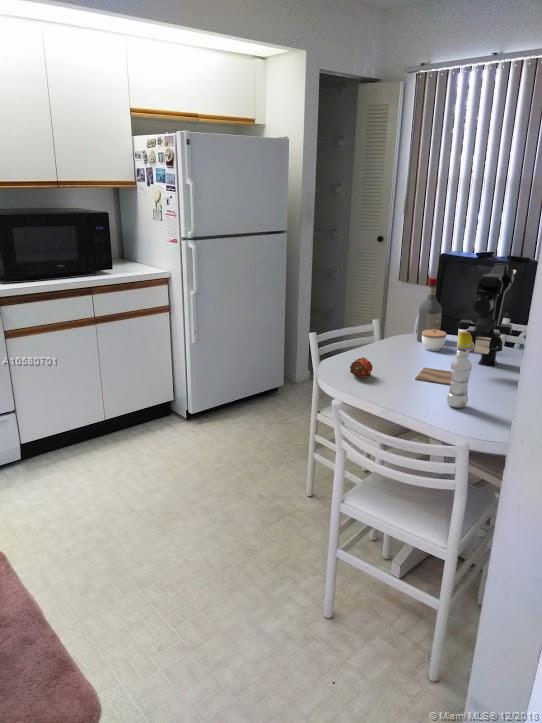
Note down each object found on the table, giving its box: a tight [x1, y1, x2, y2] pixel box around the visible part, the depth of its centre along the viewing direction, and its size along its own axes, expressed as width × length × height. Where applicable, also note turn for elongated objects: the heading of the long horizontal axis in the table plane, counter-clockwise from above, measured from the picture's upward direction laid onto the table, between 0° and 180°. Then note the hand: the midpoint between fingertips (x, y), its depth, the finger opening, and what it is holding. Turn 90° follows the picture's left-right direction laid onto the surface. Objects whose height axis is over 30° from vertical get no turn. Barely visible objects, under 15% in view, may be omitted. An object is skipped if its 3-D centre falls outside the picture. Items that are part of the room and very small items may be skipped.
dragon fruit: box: [349, 356, 374, 379], centre depth 208 cm, size 8×8×12 cm
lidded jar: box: [421, 329, 447, 352], centre depth 241 cm, size 11×11×9 cm
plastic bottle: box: [446, 349, 473, 409], centre depth 178 cm, size 6×7×20 cm
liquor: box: [416, 277, 443, 343], centre depth 250 cm, size 9×9×30 cm
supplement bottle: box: [456, 322, 474, 352], centre depth 238 cm, size 7×7×13 cm
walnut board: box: [415, 367, 451, 386], centre depth 208 cm, size 14×14×1 cm
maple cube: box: [474, 336, 491, 354], centre depth 206 cm, size 5×5×5 cm
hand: (482, 348), depth 206 cm, fingers closed on maple cube, 5 cm apart
